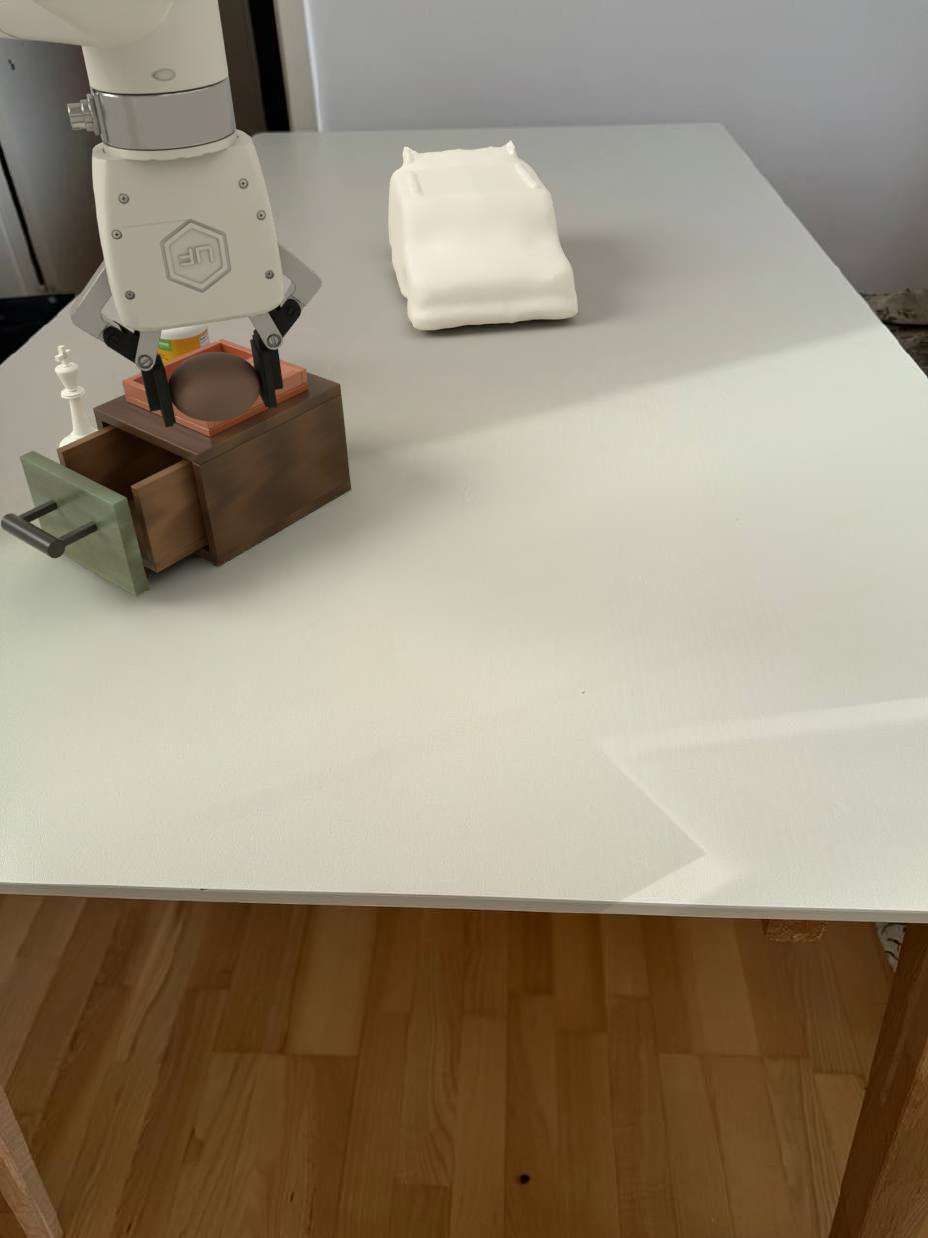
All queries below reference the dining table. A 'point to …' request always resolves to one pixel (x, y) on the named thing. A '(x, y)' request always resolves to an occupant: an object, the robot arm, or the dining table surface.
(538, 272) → the flour sack
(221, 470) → the cabinet
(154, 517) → the drawer
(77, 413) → the chess piece
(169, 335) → the supplement bottle
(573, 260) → the dining table surface
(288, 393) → the orange square tray
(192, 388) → the egg
